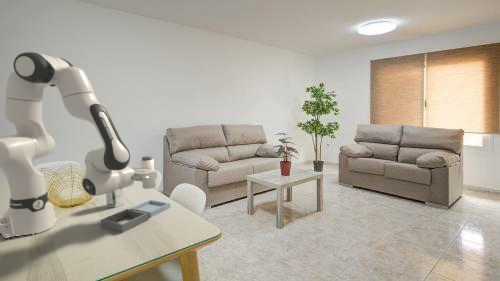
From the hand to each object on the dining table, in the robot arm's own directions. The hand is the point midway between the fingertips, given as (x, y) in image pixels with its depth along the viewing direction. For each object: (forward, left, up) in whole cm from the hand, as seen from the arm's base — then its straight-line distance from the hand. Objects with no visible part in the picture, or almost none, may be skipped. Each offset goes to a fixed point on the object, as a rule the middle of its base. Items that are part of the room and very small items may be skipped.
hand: (149, 169), depth 126 cm
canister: (0, -1, -8) cm, 8 cm away
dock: (+1, -16, -19) cm, 25 cm away
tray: (0, -1, -19) cm, 20 cm away
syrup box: (-22, -3, -20) cm, 30 cm away
